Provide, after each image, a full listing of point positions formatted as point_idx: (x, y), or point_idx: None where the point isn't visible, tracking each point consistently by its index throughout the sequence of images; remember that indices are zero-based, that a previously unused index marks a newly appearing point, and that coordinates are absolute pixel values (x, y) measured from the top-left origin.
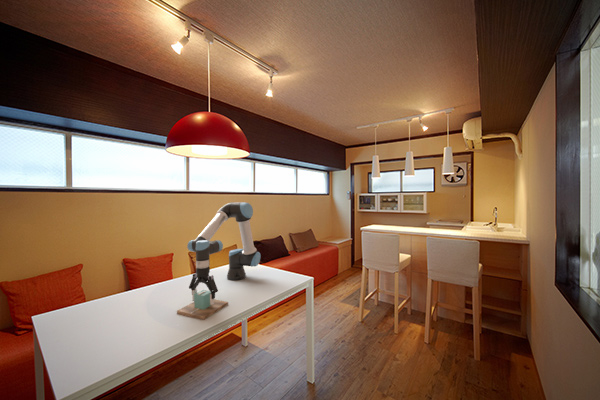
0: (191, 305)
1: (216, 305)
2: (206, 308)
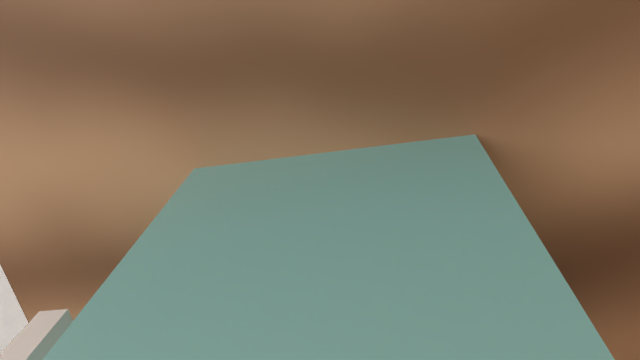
0: None
1: (618, 116)
2: None
